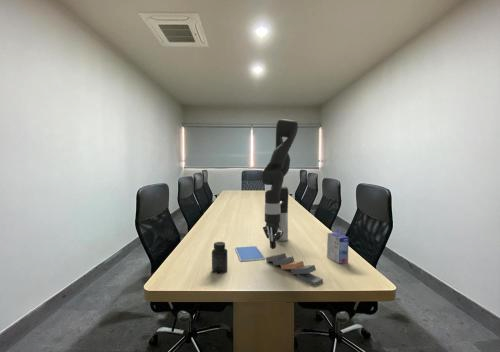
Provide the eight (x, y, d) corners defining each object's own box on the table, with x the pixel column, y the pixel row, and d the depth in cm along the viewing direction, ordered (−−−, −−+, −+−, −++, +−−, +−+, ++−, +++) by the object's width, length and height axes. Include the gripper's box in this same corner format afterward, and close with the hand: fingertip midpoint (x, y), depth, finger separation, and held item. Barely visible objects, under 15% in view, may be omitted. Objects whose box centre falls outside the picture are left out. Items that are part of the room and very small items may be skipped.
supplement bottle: (216, 266, 108) (216, 240, 108) (230, 268, 106) (229, 241, 105) (208, 272, 102) (208, 244, 101) (223, 274, 99) (222, 246, 99)
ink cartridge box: (349, 263, 110) (349, 232, 110) (339, 264, 109) (339, 233, 109) (336, 255, 120) (336, 227, 120) (326, 256, 119) (326, 228, 118)
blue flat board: (234, 249, 132) (234, 247, 132) (256, 247, 134) (256, 245, 134) (240, 263, 113) (240, 260, 113) (265, 260, 116) (265, 258, 115)
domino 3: (280, 264, 105) (294, 263, 98) (288, 261, 108) (302, 260, 101) (281, 269, 104) (296, 268, 97) (289, 266, 107) (304, 265, 100)
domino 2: (272, 261, 109) (285, 259, 102) (280, 258, 112) (293, 256, 105) (273, 265, 108) (286, 263, 101) (281, 262, 111) (294, 261, 104)
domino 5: (296, 274, 96) (314, 282, 89) (305, 270, 99) (322, 279, 92) (296, 278, 97) (314, 287, 89) (305, 275, 99) (322, 284, 92)
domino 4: (290, 269, 100) (306, 268, 93) (298, 266, 103) (314, 265, 96) (291, 274, 99) (308, 273, 92) (299, 271, 102) (315, 270, 95)
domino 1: (265, 257, 113) (277, 255, 106) (273, 255, 116) (285, 253, 109) (266, 262, 112) (278, 260, 106) (274, 259, 115) (286, 257, 109)
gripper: (288, 213, 109) (288, 250, 109) (269, 209, 119) (270, 243, 120) (275, 215, 104) (276, 254, 105) (257, 211, 115) (258, 246, 116)
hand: (272, 248), depth 112 cm, fingers closed
